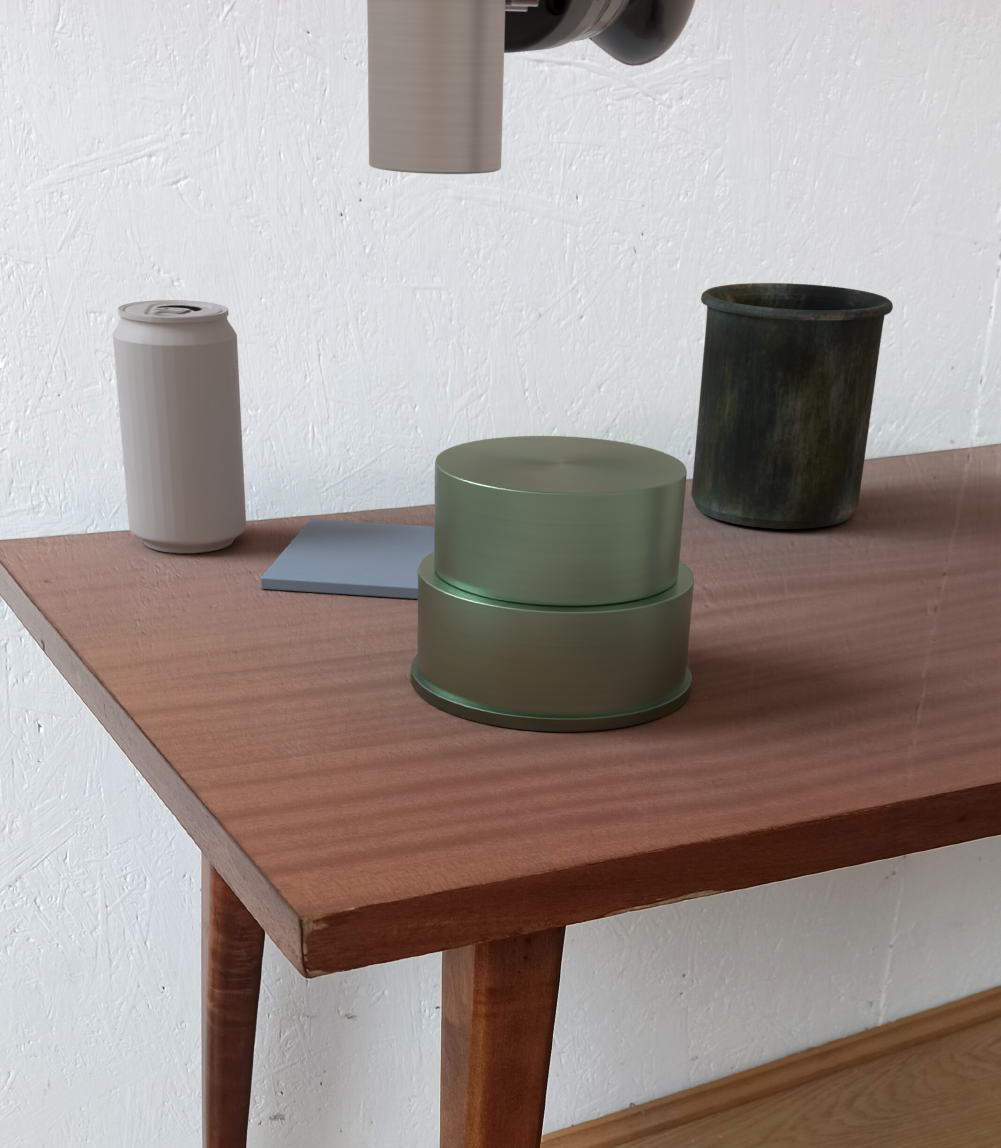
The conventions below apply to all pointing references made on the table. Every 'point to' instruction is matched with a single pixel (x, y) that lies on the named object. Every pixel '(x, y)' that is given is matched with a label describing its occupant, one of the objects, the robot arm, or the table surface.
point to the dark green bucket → (785, 402)
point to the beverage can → (180, 424)
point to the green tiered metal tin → (555, 585)
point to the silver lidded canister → (435, 85)
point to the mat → (352, 559)
